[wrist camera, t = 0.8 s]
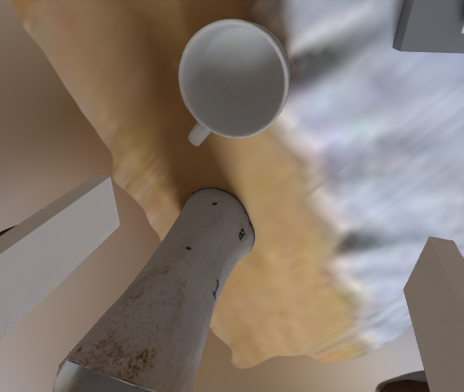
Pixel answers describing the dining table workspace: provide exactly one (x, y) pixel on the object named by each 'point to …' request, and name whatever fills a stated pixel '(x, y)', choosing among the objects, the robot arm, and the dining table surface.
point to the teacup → (233, 79)
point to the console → (431, 26)
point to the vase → (164, 306)
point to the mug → (406, 387)
